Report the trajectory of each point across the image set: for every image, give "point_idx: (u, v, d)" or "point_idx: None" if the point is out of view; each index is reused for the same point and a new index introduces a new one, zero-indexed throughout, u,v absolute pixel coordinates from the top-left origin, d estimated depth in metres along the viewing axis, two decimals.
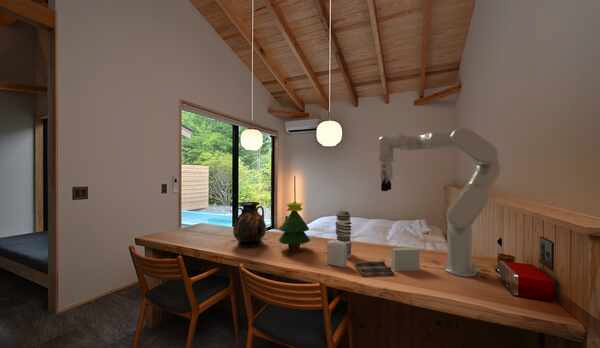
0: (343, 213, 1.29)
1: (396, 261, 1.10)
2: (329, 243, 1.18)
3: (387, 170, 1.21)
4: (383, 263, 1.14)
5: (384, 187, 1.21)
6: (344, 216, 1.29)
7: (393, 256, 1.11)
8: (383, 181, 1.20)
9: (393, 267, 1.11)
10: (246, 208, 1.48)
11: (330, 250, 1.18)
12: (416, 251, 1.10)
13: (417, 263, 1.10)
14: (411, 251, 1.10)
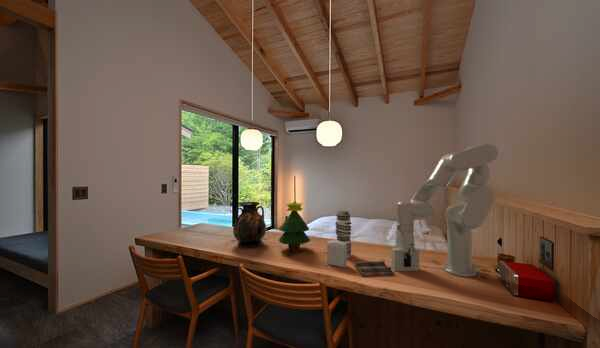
0: (343, 213, 1.29)
1: (396, 261, 1.10)
2: (329, 243, 1.18)
3: None
4: (383, 263, 1.14)
5: None
6: (344, 216, 1.29)
7: (393, 256, 1.11)
8: None
9: (393, 267, 1.11)
10: (246, 208, 1.48)
11: (330, 250, 1.18)
12: (416, 251, 1.11)
13: (417, 263, 1.11)
14: None
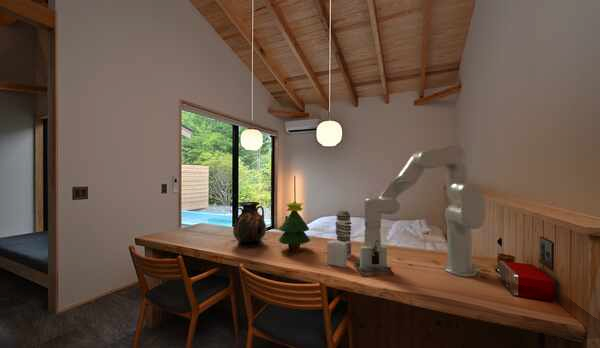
0: (343, 213, 1.29)
1: (363, 259, 1.09)
2: (329, 243, 1.18)
3: None
4: None
5: None
6: (344, 216, 1.29)
7: (360, 254, 1.11)
8: None
9: (360, 265, 1.11)
10: (246, 208, 1.48)
11: (330, 250, 1.18)
12: (383, 249, 1.10)
13: (384, 261, 1.10)
14: None
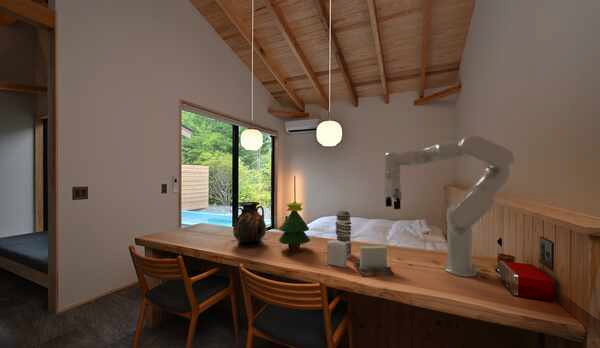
0: (343, 213, 1.29)
1: (363, 259, 1.09)
2: (329, 243, 1.18)
3: None
4: None
5: None
6: (344, 216, 1.29)
7: (360, 254, 1.11)
8: None
9: (360, 265, 1.11)
10: (246, 208, 1.48)
11: (330, 250, 1.18)
12: (383, 249, 1.10)
13: (384, 261, 1.10)
14: (378, 249, 1.10)
